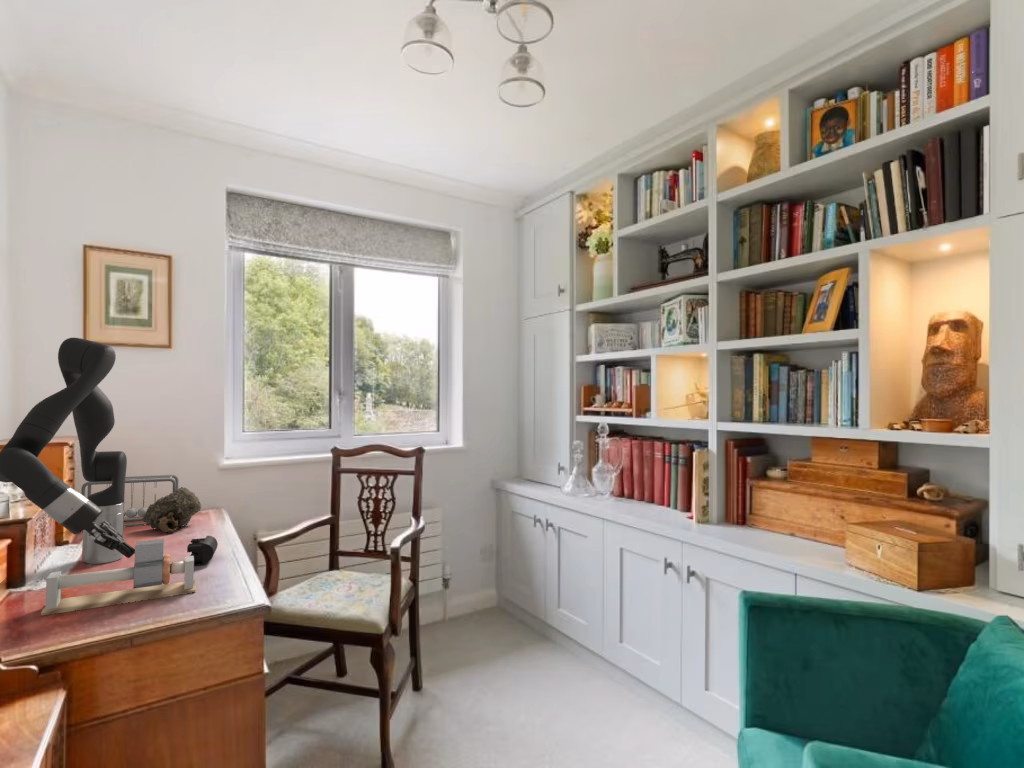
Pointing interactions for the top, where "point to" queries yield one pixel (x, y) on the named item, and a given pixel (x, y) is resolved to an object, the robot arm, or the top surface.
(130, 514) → the newton's cradle
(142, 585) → the grooved slider block
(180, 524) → the rock
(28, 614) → the top surface
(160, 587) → the base board
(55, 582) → the rod
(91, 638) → the top surface
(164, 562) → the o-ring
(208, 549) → the end cap
